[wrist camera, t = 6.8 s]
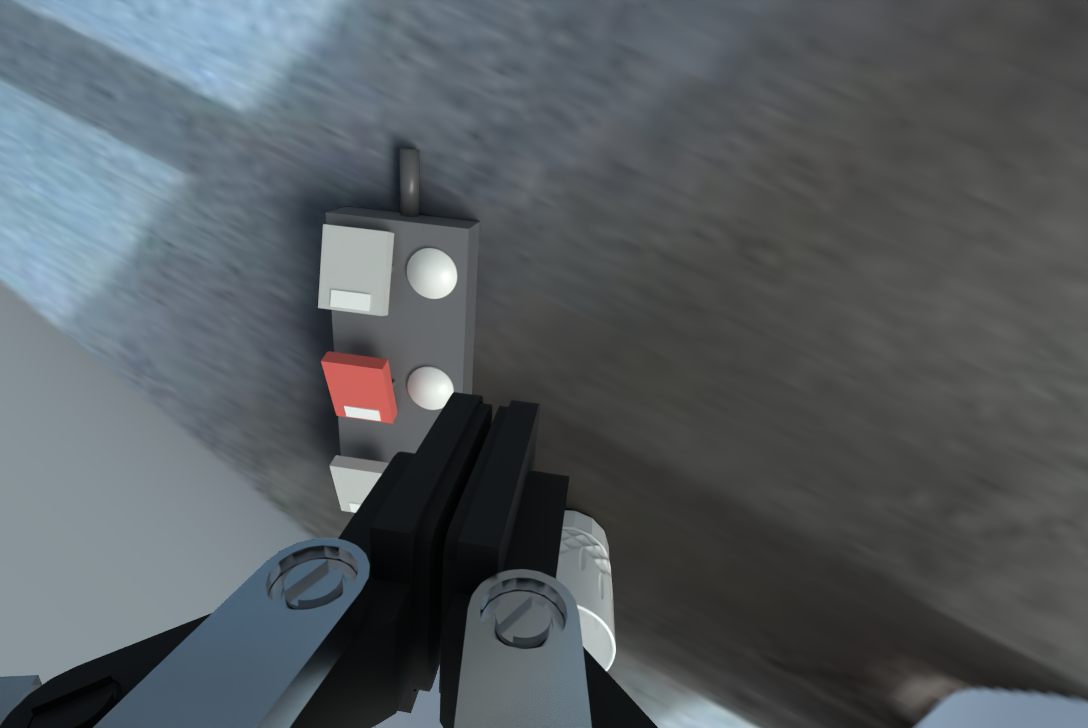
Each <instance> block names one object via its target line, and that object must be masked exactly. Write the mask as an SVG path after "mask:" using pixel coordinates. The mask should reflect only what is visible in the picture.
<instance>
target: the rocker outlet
mask: <svg viewBox="0 0 1088 728" xmlns="http://www.w3.org/2000/svg"><path fill="white" fill-rule="evenodd" d="M388 464H389V463H386V462H379V461H372V460H365V459H359V458H352V457H345V456H338V455H336V456H335V457H334V459H333V461H332V462H331V464H330V469H331V473H332V477H333V480H334V484H335V488H336V491H337V495H338V499H339V502H340V506H341V510H342V511H348V512H354V513H356V512H357V510H358V509H359V507H360V506H361V504H362V503H363V501H364V500H365V498H366V497H367V495H368V494H369V492H370V491H371V489H372V488H373V486H374V485H375V483H376V482H377V481H378V479H379V478H380V476H381V475H382V473H383V472H384V470H385V469H386V467H387V466H388Z"/></svg>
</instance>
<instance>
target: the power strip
mask: <svg viewBox="0 0 1088 728" xmlns="http://www.w3.org/2000/svg"><path fill="white" fill-rule="evenodd" d="M325 215H326V224H327V225H335V226H344V227H352V228H361V229H369V230H377V231H386V232H391V233H394V244H393V256H392V269H391V281H390V294H389V307H388V315H386V316H377V315H369V314H362V313H354V312H346V311H338V310H332V326H333V342H334V352H338V353H345V354H353V355H360V356H367V357H375V358H382V359H388V363H389V368H390V374H391V379H392V385H393V391H394V396H395V402H396V407H397V415H396V418H395V420H394V422H393V424H391V423H384V422H377V421H370V420H363V419H356V418H349V417H342V416H338V422H339V438H340V453H341V456H345V457H352V458H359V459H365V460H372V461H379V462H386V463H390V461H391V460H392V458H393V457H394V456H395V455H396V454H397V452H400V451H403V452H409V453H416V451H417V450H418V448H419V446H420V445H421V443H422V441H423V440H424V438H425V437H426V435H427V433H428V432H429V430H430V428H431V427H432V425H433V424H434V422H435V420H436V419H437V417H438V416H439V414H440V412H441V411H442V409H443V407H444V406H445V404H446V403H447V401H448V399H449V398H450V396H451V394H452V393H453V392H458V393H465V394H472V381H473V359H474V338H475V316H476V294H477V272H478V251H479V229H480V222H478V221H470V220H461V219H452V218H444V217H435V216H426V215H419V150H416V149H406V148H400V212H392V211H383V210H374V209H366V208H357V207H348V206H347V207H343V208H339V209H336V210H332V211H328V212H325Z"/></svg>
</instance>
